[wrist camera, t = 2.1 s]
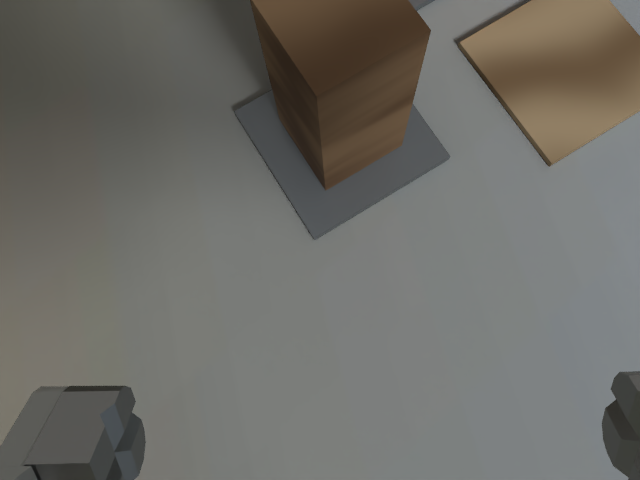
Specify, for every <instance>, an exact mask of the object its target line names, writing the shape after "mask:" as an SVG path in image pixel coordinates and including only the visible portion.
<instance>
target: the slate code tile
mask: <svg viewBox="0 0 640 480" xmlns="http://www.w3.org/2000/svg"><path fill="white" fill-rule="evenodd" d="M234 112H235V115H236V116H237V118H238V120H239V121H240V123H241V124H242V126H243V128H244V129H245V131H246V132H247V134H248V135H249V137H250V139H251V140H252V142H253V143H254V145H255V147H256V148H257V150H258V151H259V153H260V155H261V156H262V158H263V159H264V161H265V163H266V164H267V166H268V167H269V169H270V170H271V172H272V174H273V175H274V177H275V178H276V180H277V182H278V183H279V185H280V186H281V188H282V190H283V191H284V193H285V194H286V196H287V198H288V199H289V201H290V202H291V204H292V206H293V207H294V209H295V210H296V212H297V213H298V215H299V217H300V218H301V220H302V221H303V223H304V225H305V226H306V228H307V229H308V231H309V233H310V234H311V236H312V237H313V239H314V240H316V239H318V238H319V237H321V236H323V235H324V234H326V233H328V232H329V231H331V230H332V229H334V228H336V227H337V226H339V225H341V224H342V223H344V222H346V221H347V220H349V219H351V218H352V217H354V216H356V215H357V214H359V213H361V212H362V211H364V210H366V209H367V208H369V207H371V206H372V205H374V204H376V203H377V202H379V201H380V200H382V199H384V198H385V197H387V196H389V195H390V194H392V193H394V192H395V191H397V190H399V189H400V188H402V187H404V186H405V185H407V184H409V183H410V182H412V181H414V180H415V179H417V178H419V177H420V176H422V175H424V174H425V173H427V172H429V171H430V170H432V169H433V168H435V167H437V166H438V165H440V164H442V163H443V162H445V161H447V160H448V159H449V158H450V155H449V154H448V152H447V151H446V150H445V148H444V147H443V145H442V144H441V143H440V141H439V140H438V138H437V137H436V136H435V134H434V133H433V131H432V130H431V129H430V127H429V126H428V124H427V123H426V122H425V120H424V119H423V117H422V116H421V115H420V113H419V112H418V111H417V109H416V108H415V106H414V105H413V104H412V107H411V111H410V115H409V119H408V123H407V127H406V131H405V135H404V139H403V143H402V146H400V147H398V148H397V149H395V150H393V151H392V152H390V153H388V154H387V155H385V156H383V157H382V158H380V159H378V160H377V161H375V162H373V163H372V164H370V165H368V166H367V167H365V168H363V169H361V170H360V171H358V172H356V173H355V174H353V175H351V176H350V177H348V178H346V179H345V180H343V181H341V182H340V183H338V184H336V185H335V186H333V187H331V188H330V189H328V190H326V191H325V189H324V187H323V186H322V184H321V183H320V181H319V180H318V178H317V177H316V175H315V174H314V172H313V170H312V169H311V167H310V166H309V164H308V163H307V161H306V160H305V158H304V157H303V155H302V153H301V152H300V150H299V149H298V147H297V146H296V144H295V143H294V141H293V140H292V138H291V136H290V135H289V133H288V132H287V130H286V129H285V127H284V126H283V124H282V123H281V121H280V119H279V115H278V111H277V107H276V103H275V99H274V95H273V90H270V91H268V92H267V93H265V94H263V95H262V96H260V97H258V98H256V99H255V100H253V101H251V102H249V103H248V104H246V105H244V106H242V107H241V108H239V109H237V110H235V111H234Z"/></svg>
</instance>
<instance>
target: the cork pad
mask: <svg viewBox="0 0 640 480" xmlns="http://www.w3.org/2000/svg"><path fill="white" fill-rule="evenodd" d="M458 47H459V48H460V50H461V51H462V52H463V54H464V55H465V56H466V58H467V59H468V60H469V62H470V63H471V64H472V66H473V67H474V68H475V70H476V71H477V72H478V73H479V75H480V76H481V77H482V79H483V80H484V81H485V83H486V84H487V85H488V87H489V88H490V89H491V91H492V92H493V93H494V95H495V96H496V97H497V99H498V100H499V101H500V102H501V104H502V105H503V106H504V108H505V109H506V110H507V112H508V113H509V114H510V116H511V117H512V118H513V120H514V121H515V122H516V124H517V125H518V126H519V128H520V129H521V130H522V131H523V133H524V134H525V135H526V137H527V138H528V139H529V141H530V142H531V143H532V145H533V146H534V147H535V149H536V150H537V151H538V153H539V154H540V155H541V157H542V158H543V159H544V160H545V162H546V163H547V164H548V166H551V165H553V164H554V163H556V162H558V161H559V160H561V159H562V158H564V157H566V156H567V155H569V154H570V153H572V152H574V151H575V150H577V149H579V148H580V147H582V146H583V145H585V144H587V143H588V142H590V141H592V140H593V139H595V138H596V137H598V136H600V135H601V134H603V133H605V132H606V131H608V130H609V129H611V128H613V127H614V126H616V125H618V124H619V123H621V122H622V121H624V120H626V119H627V118H629V117H631V116H632V115H634V114H635V113H637V112H639V111H640V36H639V35H638V34H637V32H636V31H635V30H634V29H633V28H632V27H631V25H630V24H629V23H628V22H627V21H626V19H625V18H624V17H623V16H622V15H621V14H620V12H619V11H618V10H617V9H616V8H615V7H614V5H613V4H612V3H611V2H610V1H609V0H531V1H530V2H528V3H526V4H524V5H523V6H521V7H519V8H518V9H516V10H514V11H512V12H511V13H509V14H507V15H506V16H504V17H502V18H500V19H499V20H497V21H495V22H494V23H492V24H490V25H488V26H487V27H485V28H483V29H482V30H480V31H478V32H476V33H475V34H473V35H471V36H470V37H468V38H466V39H464V40H463V41H461V42H460V43H459V45H458Z"/></svg>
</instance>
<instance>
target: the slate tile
mask: <svg viewBox="0 0 640 480" xmlns="http://www.w3.org/2000/svg"><path fill="white" fill-rule="evenodd" d="M432 1H434V0H409V2H410V3H411V4H412V6H413V7H414V8H415V10H416V11H417V10H419V9H420V8H422V7H424V6H426V5H427V4H429V3H431V2H432Z"/></svg>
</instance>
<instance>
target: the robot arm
mask: <svg viewBox="0 0 640 480" xmlns="http://www.w3.org/2000/svg"><path fill="white" fill-rule="evenodd" d="M611 390H612V392H613V394H614V396H615V398H616V400H615V401H614V402H612V403H611V404H610V405H609V406H608V407H606V408H605V412H604V416H603V420H602V431H603V441H604V444H605V448H606V451H607V454H608V456H609V458H610V460H611V462H612V464H613V466H614V467H615V468H617V469H618V470H619V471H621V472H622V473H623V474H625V475H626V476H627V477H629V479H628V480H640V371H633V372H619V373H618V374H617V375H616V376H615V378H614V380H613V383H612V387H611ZM135 402H136V401H135V398H134V395H133V392H132V390H131V387H127V386H69V387H45V386H41V387H40V388H38V389H37V390H36V391H34V392H33V393H32V395H31V396H30V398H29V400H28V401H27V403H26V405H25V406H24V408H23V410H22V411H21V413H20V415H19V416H18V418H17V420H16V421H15V423H14V425H13V426H12V428H11V430H10V431H9V433H8V435H7V436H6V438H5V440H4V442H3V443H2V445H1V447H0V480H134V479H135V478H136V477H138V476H139V473H140V470H141V467H142V464H143V460H144V452H145V443H146V442H145V431H144V427H143V423H142V420H141V419H140V418H139V417H137V416H136V415H135V414H134V413H132V410H133V407H134V405H135Z"/></svg>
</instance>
